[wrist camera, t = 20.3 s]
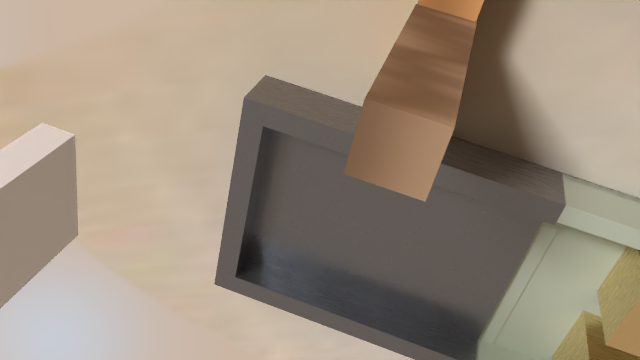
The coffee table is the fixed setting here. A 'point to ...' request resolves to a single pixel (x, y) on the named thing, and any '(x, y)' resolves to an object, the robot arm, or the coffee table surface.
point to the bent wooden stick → (415, 99)
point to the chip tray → (561, 273)
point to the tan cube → (588, 342)
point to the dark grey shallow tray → (374, 229)
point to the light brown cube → (622, 303)
